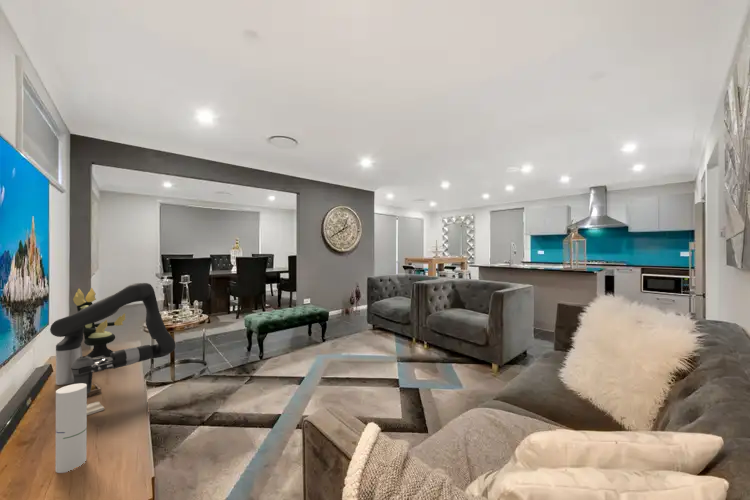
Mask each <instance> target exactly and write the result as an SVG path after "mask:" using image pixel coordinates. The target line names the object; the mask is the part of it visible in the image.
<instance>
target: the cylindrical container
mask: <svg viewBox="0 0 750 500" xmlns="http://www.w3.org/2000/svg"><path fill="white" fill-rule="evenodd" d="M87 400H88V397H87V384H84V383H79V384H74V383H71V384H67V385H65V386H62V387H60V388H58V389H57V390H55V473H58V474H65V473H69V472H71V471H70V470H72V471H74V470H75V469H74V468H76V467H79V466H80V467H82V466H83V465H84V464H86V462H87V431H88V430H87V427H88V426H87V423H88V422H87V417H88V415H87V404H88V402H87ZM85 461H86V462H85ZM83 463H84V464H83ZM82 464H83V465H82ZM81 465H82V466H81ZM80 467H79V468H80ZM73 469H74V470H73ZM68 471H69V472H68Z"/></svg>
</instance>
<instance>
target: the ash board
mask: <svg viewBox="0 0 750 500" xmlns="http://www.w3.org/2000/svg"><path fill="white" fill-rule="evenodd" d="M102 411H105V406H103V405H102V403H100V401H98V400H97V401H94V402H91V403H87V416H89V415H93V414H96V413H99V412H102Z"/></svg>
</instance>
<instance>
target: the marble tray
mask: <svg viewBox="0 0 750 500" xmlns="http://www.w3.org/2000/svg"><path fill="white" fill-rule="evenodd" d="M99 394H102V388H101V387H100V386H99V385H98V384H97V383H92V386H91V392H90V393H88V394H87V398H89V397H93V396H95V395H99Z"/></svg>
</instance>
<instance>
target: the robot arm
mask: <svg viewBox="0 0 750 500" xmlns="http://www.w3.org/2000/svg"><path fill="white" fill-rule="evenodd" d="M156 296H157V295H156V292H155V289H154V287H153V285H151V283H147V282H138V283H132V284H129V285H128V286H125V287H124V288H123V289H120V290H119V291H118V292H115V293H114V294H111V295H110V296H108V297H105V298H102V299H101V300H98V301H96V302H94V303H92V305H90V306H88V307H86V308H84V309H82V310H80V311H77V312H74V313H73V314H71V315H68V316H65V317H62V318H59V319H56V320H55V321H54V322H53V323H52V324H51V325H50V329H49V332H50V333H51V335H52V336H54V337H56V338H57V337H58V338H62V337H63V339H62V340H60V341H59V342H57V344H56V345H55V385H57V386H64V385H65V386H66V385H71V384H74V377H73V373H72V369H71V368H72V364H73V362H74V361H75V360H76V359H78V358H79V357H81V354H80V346H81V347H82V342H83V341H84V333H83V331H84V325H88V324H91V323H94V324H95V323H97V322H99V321H102V320H104V319H105V320H106V319H107V318H109V317H111V316H113V315H115V314H116V313H117V312H118V311H119V310H120V308H122V307H124V306H126V305H130V304H133V303H137V302H142V303H143V305H144V307H145V310H146V313H145V314H146V315H145V326H146V329H147V331H148V333H149V335H150V338H151V339H153V340H155V341H156V344H151V345H149V344H144V345H140V346H134V347H128V348H124V349H120V350H115V351H114V352H112V353H111V354H110V357H104V356H99V357H95V358H92V359H93V361H94V365H91V366H86V367H82V368H79V369H78V373H79V374H81V373H85V372H89V371H91V372H94V373H97V372H101V371H106V370H109V369H114V370H115V369H118V368H123V367H127V366H129V365H133V364H136V363H140V362H144V361H147V360H152V359H159V358H163V357H166V356H168V355H170V354H171V353H172V352H174V351H175V349H176V342H175V339H174V337H173V336H172V335H171V333H170V332H169V331H168V330H167V327H166V325H165V323H164V320H163V319H162V316H161V312H160V309H159V308H160V307H159V305H158V302H157V301H158V300H157V297H156Z"/></svg>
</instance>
